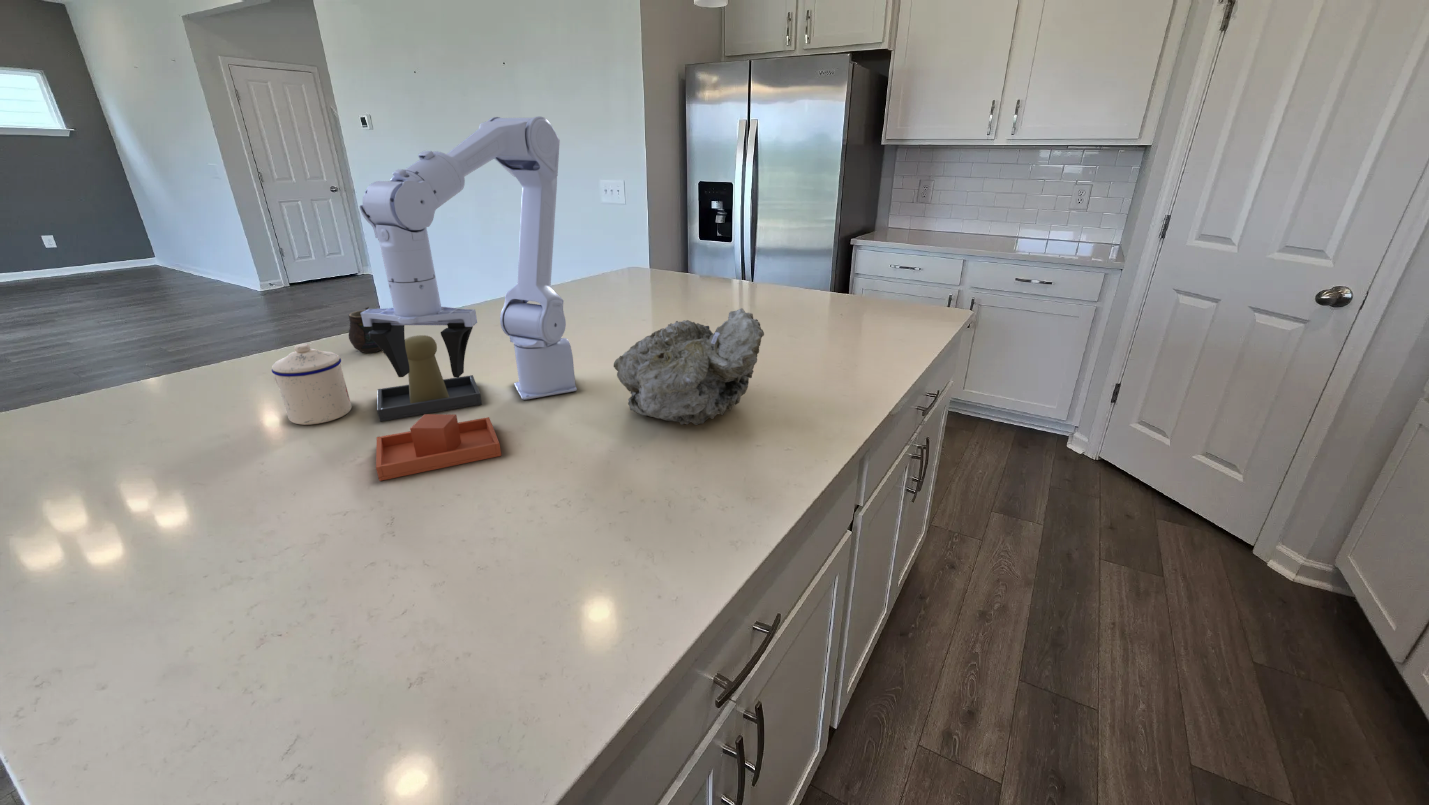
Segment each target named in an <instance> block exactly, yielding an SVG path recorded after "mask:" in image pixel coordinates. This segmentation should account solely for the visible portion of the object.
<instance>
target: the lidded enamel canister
mask: <svg viewBox="0 0 1429 805" xmlns="http://www.w3.org/2000/svg"><path fill="white" fill-rule="evenodd" d="M341 363H342V359H341V357H340V355H338V354H337V353H335V352H332V351H323V350H320V349H315V348H311V346H310V344H307V343H299V344H296V345H295V346H294V351H292V352H290V353H289V354H287V355H286V356H285V357H283V358H280V359H278V360H276V361H275V362H274V363H273V364H272V366H271V373H272V374H273V378H274V381H275V384H276V386H277V388H278V389H279V393H280V396H281V398H282V402H283V404H284V405H283V406H284V409H285V411H286V414H287V417H288V421H290V422H291V423H293V424H296V425H305V426H307V425H308V426H309V425H318V424H325V423H329V422H331V421H335V420H338V419H340V418H342V417H344V416H345V415H347V414H348V413H350V412H351V410H352V403H351V399H350V395H349V392H348V387H347V384H346V380H345V376H344V372H343V368H342V365H341Z"/></svg>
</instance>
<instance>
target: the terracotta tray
mask: <svg viewBox="0 0 1429 805" xmlns="http://www.w3.org/2000/svg"><path fill="white" fill-rule="evenodd" d="M458 426H459V432H460V437H461V443H460V445H459V446H458V447H457V448H456V449H455V450H454V451H449V452H444V453H439V454H434V455H428V456H423V457H416V453H415V448H414V444H413V439H412V435H411V430H409V431H404V432H398V433H392V434H386V435H381V436H377V437H376V446H375V448H376V449H375V450H376V451H375V453H376V454H375V470H376V473H377V477H378V481H379V482H381V481H382V482H383V481H387V480H390V479H391V480H392V479H395V478H402V477H405V476H406V477H407V476H410V475H415V474H420V473H424V472H430V471H435V470H439V469H444V468H449V467H454V466H458V465H463V464H464V465H465V464H468V463H473V462H478V461H483V460H487V459H492V458H498V457H501V456H502V451H501V443H500V441H499V439H498V436H497V434H496V431H495V428H494V426H493V422H492V421H491V418H490V417H489V416H487V417H482V418H477V419H476V418H475V419H470V420H466V421H458Z"/></svg>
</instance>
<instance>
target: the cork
mask: <svg viewBox="0 0 1429 805" xmlns="http://www.w3.org/2000/svg"><path fill="white" fill-rule="evenodd" d="M405 348H406V353H407V357H408V362H409V368H410V372H409V373H408V374H407V375H408V377H407V378H408V385H409V394H410V403H417V402H423V401H429V400H436V399H442V398H448V397H449V395H448V392H447V389H446V386H445V383H444V380H443V379H444V377H443V375H442V372H441V369H440V367H439V364H438V360H437V358H436V353H437V352H438V344H437V342H436V340H435V339H434V338H433V337H432V336H429V335H425V334H424V335H423V334H422V335H421V334H418V335H412V336H409V337H406V338H405Z"/></svg>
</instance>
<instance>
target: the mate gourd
mask: <svg viewBox="0 0 1429 805" xmlns="http://www.w3.org/2000/svg"><path fill="white" fill-rule="evenodd" d="M367 309H370V306H367V307H365V309H362V310H356V311H352V312H350V313H349V314H348V320H349V328H348V340H349V342H350V343H351V345H352V347H353V348H354V349H355V350H357V351H359V352H361V353H364V354H365V353H366V354H367V353H368V354H369V353H370V354H371V353H375V352H380V351H382V349H381V348H380V347H379V346H378V345H377V344H376V343H375V342H374V341H373V340H372V339H371V338H370V336H369V332H370V331H372V328H373V327H372V326H371V327H364V325H363V321H362V317H361V312H363V311H365V310H367Z"/></svg>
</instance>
